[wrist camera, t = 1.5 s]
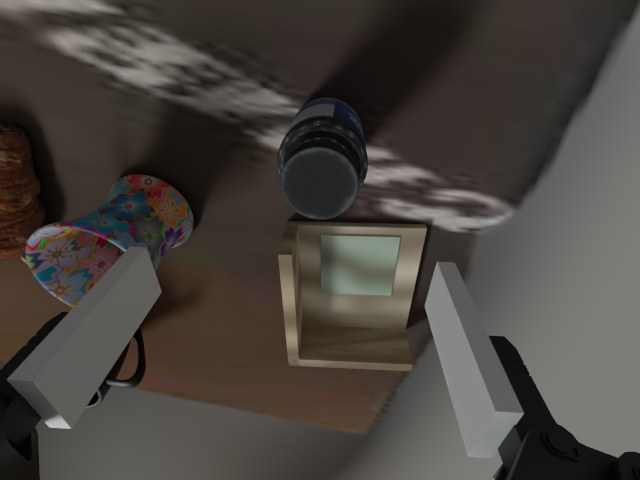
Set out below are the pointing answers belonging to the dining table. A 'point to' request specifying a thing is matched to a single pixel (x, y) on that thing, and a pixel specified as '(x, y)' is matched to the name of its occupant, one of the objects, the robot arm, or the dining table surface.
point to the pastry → (17, 192)
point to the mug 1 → (108, 236)
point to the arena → (349, 292)
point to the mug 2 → (111, 376)
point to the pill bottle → (323, 159)
